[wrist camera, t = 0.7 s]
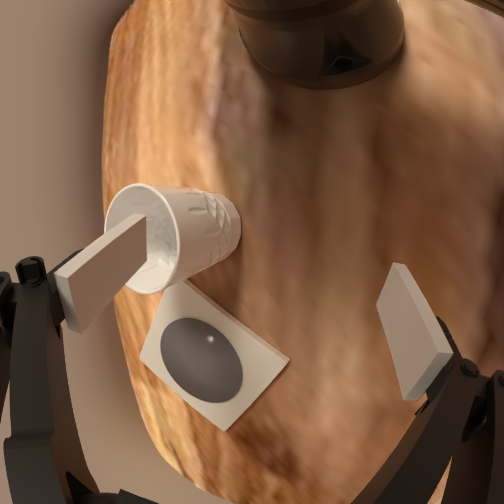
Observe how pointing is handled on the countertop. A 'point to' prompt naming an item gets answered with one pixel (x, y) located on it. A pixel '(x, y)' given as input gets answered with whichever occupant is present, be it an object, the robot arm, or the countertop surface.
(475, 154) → the countertop surface
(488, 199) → the countertop surface
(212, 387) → the trivet
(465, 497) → the robot arm
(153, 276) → the white cup
